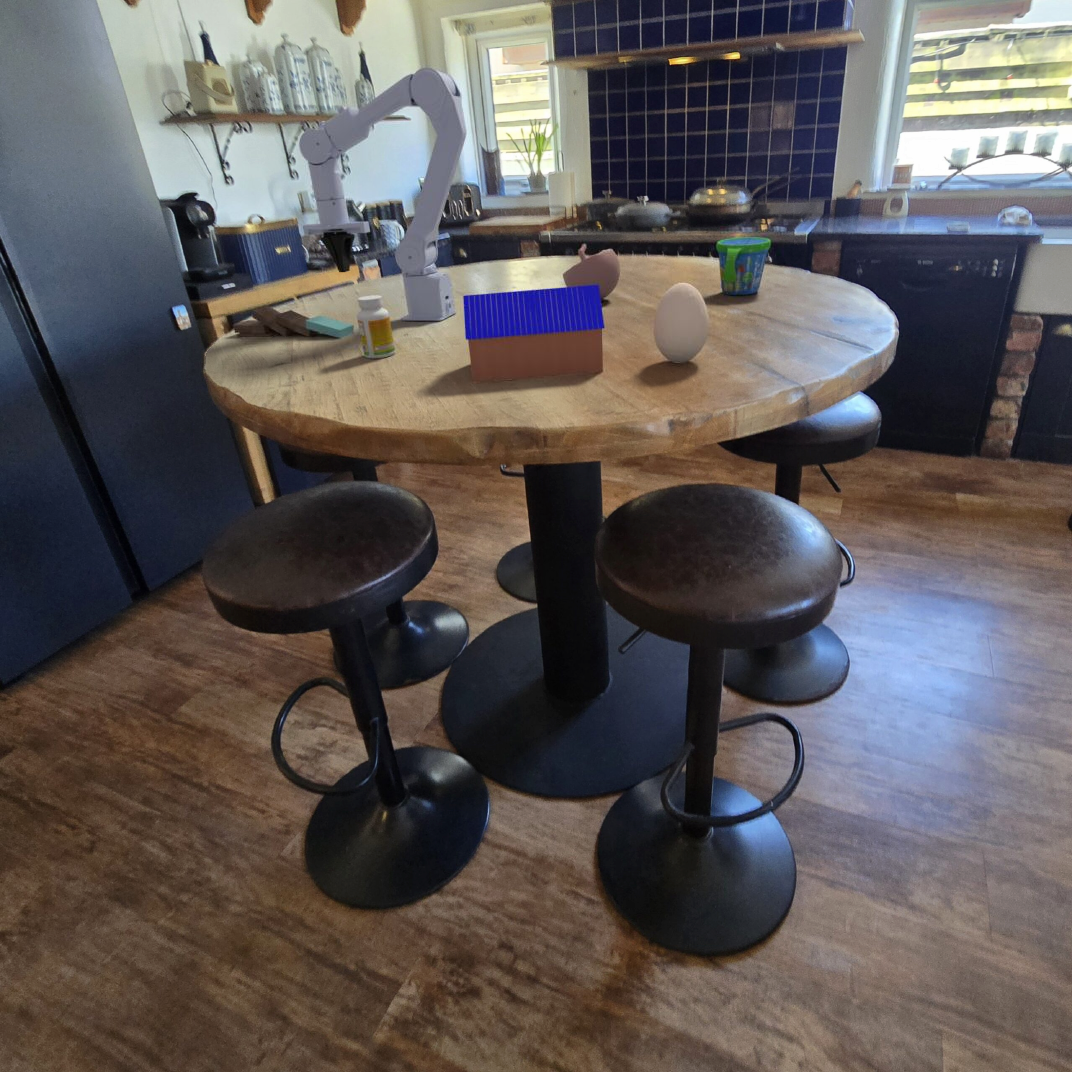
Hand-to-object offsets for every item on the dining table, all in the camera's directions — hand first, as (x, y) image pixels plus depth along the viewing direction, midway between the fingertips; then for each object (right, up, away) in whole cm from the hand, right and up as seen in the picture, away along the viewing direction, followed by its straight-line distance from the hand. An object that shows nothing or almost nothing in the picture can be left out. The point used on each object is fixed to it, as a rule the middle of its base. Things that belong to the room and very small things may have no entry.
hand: (344, 271), depth 144 cm
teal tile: (+3, -15, -8) cm, 17 cm away
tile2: (-4, -14, -5) cm, 16 cm away
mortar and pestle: (+52, -5, +5) cm, 53 cm away
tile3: (-10, -13, -3) cm, 17 cm away
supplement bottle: (+13, -24, -23) cm, 36 cm away
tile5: (-13, -14, -2) cm, 19 cm away
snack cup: (+83, -4, +2) cm, 83 cm away
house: (+40, -29, -36) cm, 62 cm away
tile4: (-14, -13, -3) cm, 19 cm away
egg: (+62, -29, -40) cm, 79 cm away
